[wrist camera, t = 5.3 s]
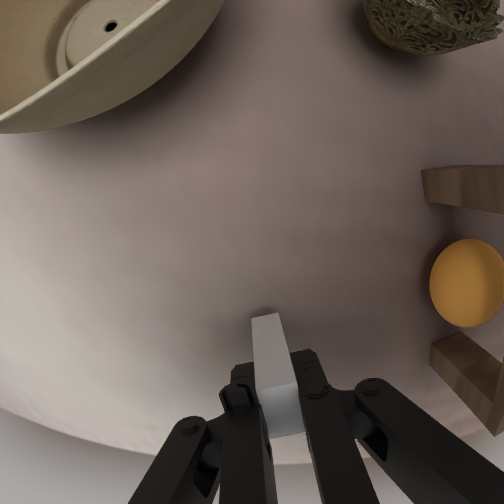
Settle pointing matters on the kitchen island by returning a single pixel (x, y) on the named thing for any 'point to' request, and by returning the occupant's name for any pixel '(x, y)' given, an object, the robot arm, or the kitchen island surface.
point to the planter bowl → (88, 55)
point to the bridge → (459, 345)
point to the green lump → (432, 23)
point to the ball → (468, 283)
